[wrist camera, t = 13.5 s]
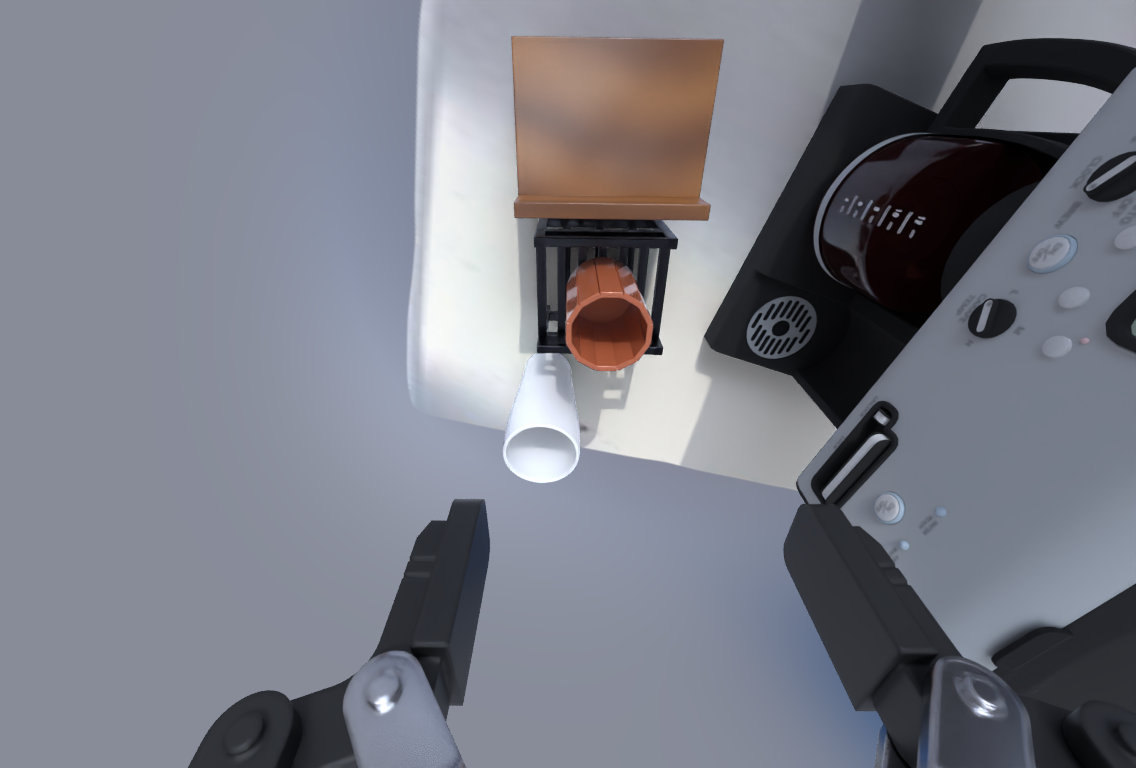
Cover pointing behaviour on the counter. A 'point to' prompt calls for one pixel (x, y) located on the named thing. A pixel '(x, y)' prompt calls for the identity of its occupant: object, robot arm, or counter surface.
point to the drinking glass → (543, 422)
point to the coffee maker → (972, 357)
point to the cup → (606, 315)
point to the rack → (601, 242)
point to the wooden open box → (613, 126)
